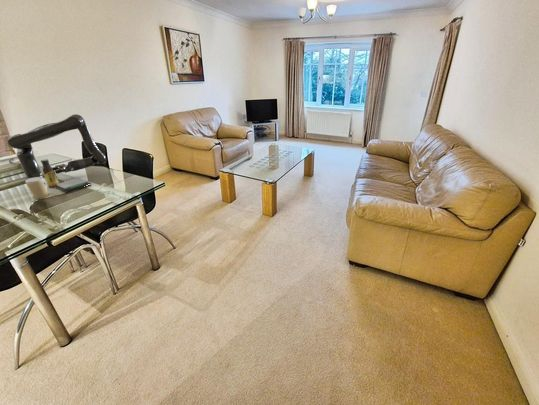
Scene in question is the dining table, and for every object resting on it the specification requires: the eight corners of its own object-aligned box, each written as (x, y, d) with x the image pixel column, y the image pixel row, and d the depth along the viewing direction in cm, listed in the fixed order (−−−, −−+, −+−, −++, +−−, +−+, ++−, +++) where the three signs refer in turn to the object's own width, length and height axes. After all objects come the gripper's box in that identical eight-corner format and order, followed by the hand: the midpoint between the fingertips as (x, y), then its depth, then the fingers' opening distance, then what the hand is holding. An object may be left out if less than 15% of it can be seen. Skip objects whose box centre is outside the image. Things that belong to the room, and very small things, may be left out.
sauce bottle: (53, 188, 179) (42, 162, 170) (46, 187, 180) (35, 161, 171) (62, 185, 185) (51, 159, 175) (55, 184, 186) (44, 158, 177)
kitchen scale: (55, 188, 179) (54, 184, 178) (80, 181, 192) (78, 177, 190) (66, 193, 172) (65, 189, 171) (91, 185, 185) (90, 181, 183)
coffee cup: (53, 194, 171) (46, 177, 166) (38, 199, 164) (30, 182, 158) (44, 191, 174) (37, 175, 168) (29, 197, 166) (21, 180, 161)
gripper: (71, 158, 193) (46, 164, 181) (80, 161, 187) (55, 168, 175) (74, 167, 197) (50, 174, 184) (84, 171, 190) (59, 178, 178)
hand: (52, 171), depth 179 cm, fingers open, 8 cm apart
